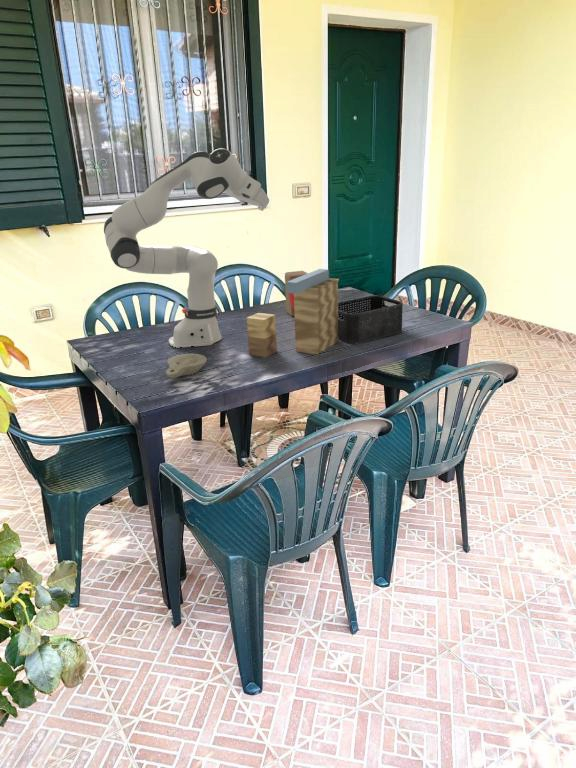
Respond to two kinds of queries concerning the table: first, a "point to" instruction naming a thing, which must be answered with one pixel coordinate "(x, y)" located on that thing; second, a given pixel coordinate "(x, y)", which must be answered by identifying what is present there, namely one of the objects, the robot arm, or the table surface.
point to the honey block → (261, 325)
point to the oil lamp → (184, 364)
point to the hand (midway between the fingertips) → (252, 205)
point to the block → (288, 277)
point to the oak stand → (316, 317)
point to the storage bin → (376, 315)
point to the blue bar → (307, 281)
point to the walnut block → (262, 346)
